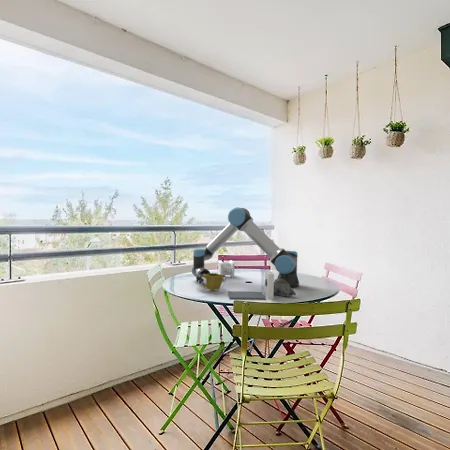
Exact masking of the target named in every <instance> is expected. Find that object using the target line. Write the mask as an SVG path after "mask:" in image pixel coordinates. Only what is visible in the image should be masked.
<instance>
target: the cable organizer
mask: <svg viewBox="0 0 450 450" xmlns="http://www.w3.org/2000/svg"><path fill="white" fill-rule="evenodd" d="M217 264H218V265H217V267H218V270H217V271H218V273H217V274H220V275H224V276H229V277H230V278H231V279H234V278H235V261H234V260H232V259H231V260H229V261H228V262H223V261H222V260H218V262H217Z"/></svg>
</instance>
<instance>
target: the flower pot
mask: <svg viewBox="0 0 450 450" xmlns="http://www.w3.org/2000/svg"><path fill="white" fill-rule="evenodd" d="M215 273H216V272H214V273H213V272H210V274H205V275H203V277H204V278H205V279H207V281H206V284H205V283H203V284H204V286H205V288H206V289H207V290H208V291H209V290H210V291H216V290H219V289H220V288H221V286H222V283H223V282H222V278H223V275H220V274H218V273H216V274H215Z"/></svg>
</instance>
